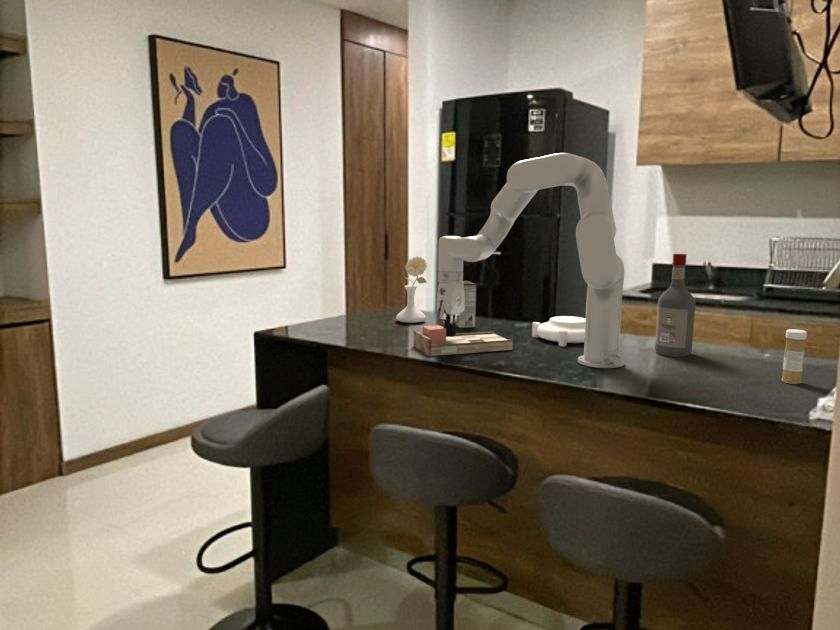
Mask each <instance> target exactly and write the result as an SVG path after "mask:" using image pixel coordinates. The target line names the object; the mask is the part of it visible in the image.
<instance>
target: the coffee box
mask: <svg viewBox="0 0 840 630" xmlns="http://www.w3.org/2000/svg"><path fill="white" fill-rule="evenodd" d="M463 284H464V295H465V310H464V311H463V312H461V313H460V314H459V315H458V316H457V322H456V327H458V328H460V329H463V328H476V307H477V305H476V304H477V303H476V302H477V283H475V282H471V281H469V280H463Z"/></svg>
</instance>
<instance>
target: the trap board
mask: <svg viewBox="0 0 840 630" xmlns="http://www.w3.org/2000/svg"><path fill="white" fill-rule="evenodd" d="M413 347H414V348H415V349H417V350H418V351H420V352H422V353H423V354H424V355H426V356H427V357H431V356H432V357H433V356H447V355H458V354H459V355H461V354H472V353H474V354H475V353H486V352H498V351H499V352H500V351H512V350H513V339H507V338H505V337H503V336H501V335H498V334H496V333H495V331H482V332H481V331H478V332H467V333H466V332H464V333H463V332H462V333H456V335H455V336H453V337H450V336H446V343H439V344H432V339H430V338H429V337H427V336H425V335H423V332H422V333H421V332H420V331H419V330H413Z"/></svg>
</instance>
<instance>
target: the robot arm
mask: <svg viewBox="0 0 840 630" xmlns="http://www.w3.org/2000/svg"><path fill="white" fill-rule="evenodd" d="M560 186H561V187H562V186H567V187H568V186H570V187H573V188H574V189H575V191H576V195H577V203H578V208H579V215H580V219H579V221H578V222H577V225H576V228H575V240H576V246H577V247H576V248H577V252H578V258H579V263H580V264H579V265H580V270H581V275H582V277H583V280H584V282H585V283H586V284H587V291H586V301H585V302H586V303H585V340H584V344H583V346H584V347H583V355H582V354H581V355H579V356H578V357H577V362H578V364H580V365H583V366H585V367H589V368H597V369H616V368H621V367H623V366H624V364H625V357H624V356H621V350H620V335H621V318H622V302H623V289H624V284H625V283H624V281H625V280H624V279H625V264H624V262H623V259H622V258H621V257H620V256H619V254H617V251H616V243H615V237H616V234H617V225H616V223H615V218H614V212H613V207H612V201H611V197H610V196H611V195H610V191H609V185H608V181H607V179H606V175H605V174H604V172H603V170H602V169H601V167H600V166H599V164H597V163H596V162H594V161H593V160H590V159H588V158H586V157H584V156H579V155H576V154H573V153H569V152H559V153H553V154H548V155H544V156H540V157H533V158H529V159H523V160H519V161H517V162H514V163H513V164H512V165H511V166H510V167H509V168H508V171H507V173H506V183H505V184H504V186H502V188H501V190H500V191H499V192H498V193H497V194H496V196H495V197H494V199H493V200H492V201H491V204H490V214H489V216H488V218H487V220H486V222H485V224H484V225H483V227H481V229H480V230H479V232H478V233H477V234H476V235H473V236H465V237H461V236H460V235H459V236H457V235H443V236H441V237H440V238H439V240H438V260H437V261H438V265H437V267H438V269H437V270H438V273H437V274H438V276H437V282H438V285H437V294H436V295H437V296H436V312H437V313H438V315H439V319H440V320H443V321H442V322H443V327H444V328H446V336H450V337H453V336H455V335H456V334H457V332H456V329H457V326H456V322H457V316H458V315H459V314H460V313H461V312H463V311H464V310H465V295H464V284H463V281H464V262H468V263H475V262H479V261H483V260H486V259H488V258H490V256H491V255H493V254H494V252H495V251H496V250H497V249H498V247H499V246H500V245H501V243H503V241H504V239H505V238H506V236H507V235H508V233H509V232H510V230H511V229H512V227H513V226H514V223H515V221H516V220H517V219H518V217H519V216H520V214H521V213H522V212H523V210H524V209H525V208H526V206H527V205H528V204H529V202H531V200H532V199H533V197H534V196H535V195H536V194H537V193H538V191H539V190H543V189H544V190H545V189H549V188H554V187H560Z"/></svg>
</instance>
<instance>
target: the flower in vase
mask: <svg viewBox="0 0 840 630" xmlns="http://www.w3.org/2000/svg"><path fill="white" fill-rule="evenodd" d="M427 267H428V265H427V262H426V260H425V258H422V257H421V256H416V257H415V256H412V258H409V259H408V261H406V265H405V266H404V268H405V271H406V274H408V275H409V276H412V277H416V278H415V280H414V282H413V280H411V279H409V278H407V276H406V277H405V276H404V278H405V279H406V280H408V281H410V282H411V283H412V284H409V285H404V288H405V290H406V293H407V304H406V307H404V309H402V310H400V312H399V313H397V315H396V317H395V319H396V320H397V321H399V322H401V323H404V324H405V323H406V324H407V323H408V324H416V323H421V322H423V321H425V320H426V319H427V317H426V315H425V314H424V312H422V311H421V310H420V309H419V308H417V306H416V305H415V293H416V290H417V288H418V285H416V284H415V283H416V282H417V283H418V284H426V283H427V280H426V279H425V278H424V277H423V276H421V275H423V274H424V273H425V271H426V270H427ZM419 276H421V277H419ZM414 284H415V285H414Z"/></svg>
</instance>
